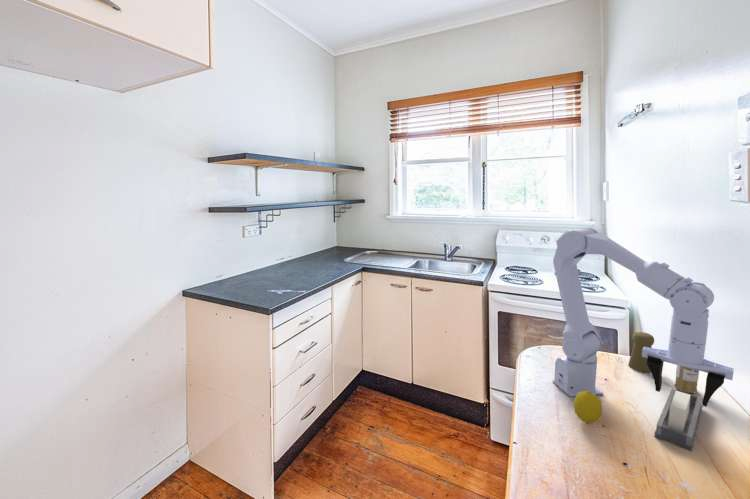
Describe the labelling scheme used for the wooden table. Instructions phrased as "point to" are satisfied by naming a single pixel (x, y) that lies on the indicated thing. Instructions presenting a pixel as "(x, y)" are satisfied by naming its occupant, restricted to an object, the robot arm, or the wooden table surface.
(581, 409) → the lemon
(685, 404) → the door panel
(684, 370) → the sprinkles bottle
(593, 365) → the robot arm
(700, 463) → the wooden table surface
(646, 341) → the cork
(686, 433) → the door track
